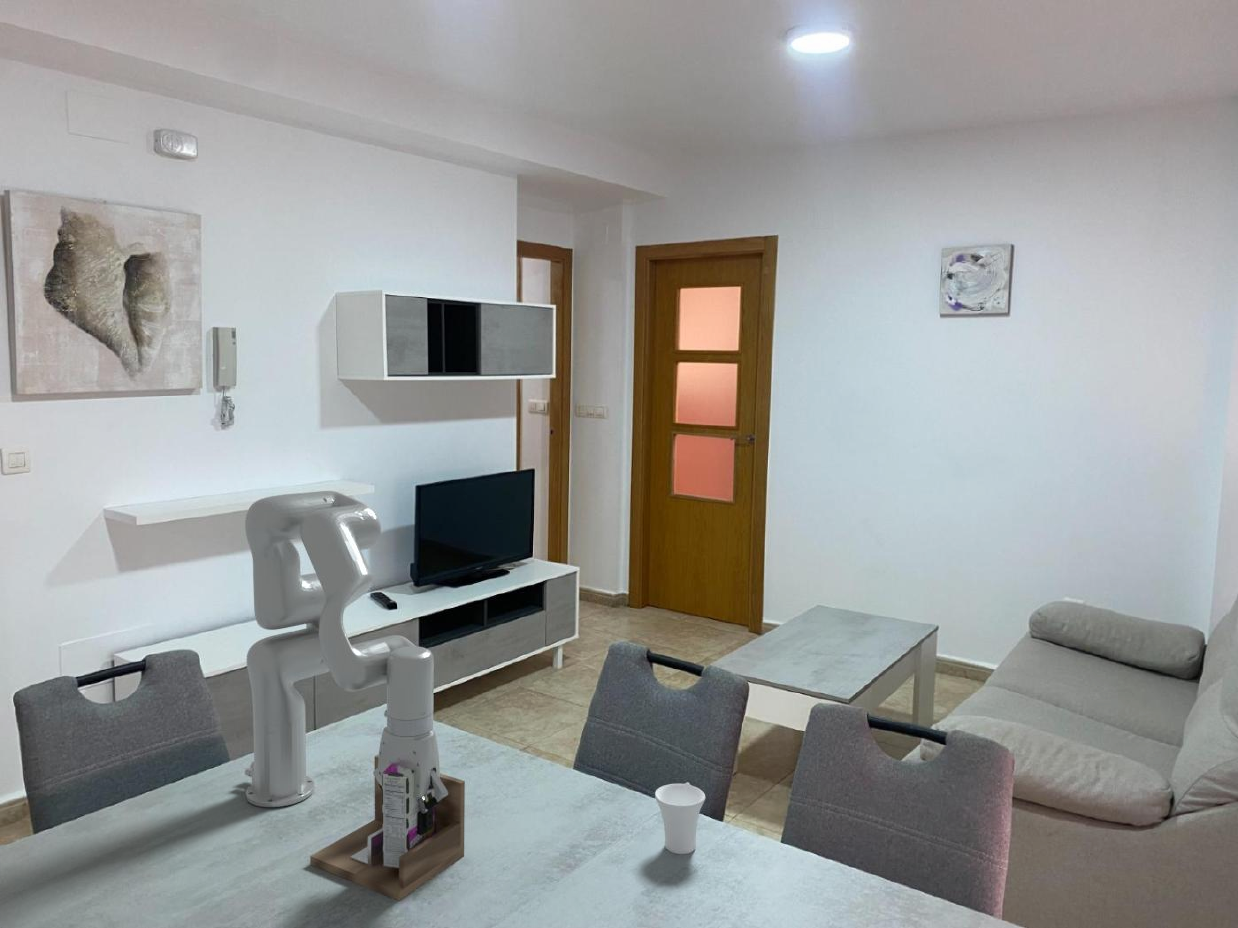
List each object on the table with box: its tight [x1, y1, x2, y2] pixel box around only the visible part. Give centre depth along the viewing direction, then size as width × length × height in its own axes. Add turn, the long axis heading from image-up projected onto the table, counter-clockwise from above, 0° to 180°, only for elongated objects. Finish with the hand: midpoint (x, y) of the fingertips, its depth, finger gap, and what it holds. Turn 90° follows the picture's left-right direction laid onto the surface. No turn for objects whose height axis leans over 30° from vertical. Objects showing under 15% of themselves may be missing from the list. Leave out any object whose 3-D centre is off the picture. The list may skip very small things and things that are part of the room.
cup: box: [654, 782, 706, 855], centre depth 165 cm, size 9×9×10 cm
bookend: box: [350, 828, 383, 867], centre depth 159 cm, size 5×10×5 cm, turn 150°
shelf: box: [309, 753, 466, 901], centre depth 158 cm, size 20×16×14 cm
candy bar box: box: [382, 764, 436, 869], centre depth 155 cm, size 11×5×16 cm, turn 168°
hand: (409, 824), depth 155 cm, fingers closed on candy bar box, 6 cm apart
